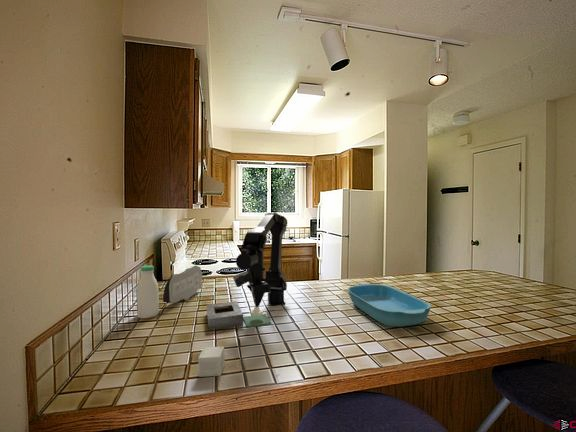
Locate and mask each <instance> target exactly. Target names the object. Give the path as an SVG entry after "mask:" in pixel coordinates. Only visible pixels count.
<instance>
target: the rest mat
mask: <svg viewBox="0 0 576 432" xmlns="http://www.w3.org/2000/svg"><path fill="white" fill-rule="evenodd" d="M243 323H244V324H245V326H246V328H253V327H258V326H267V325H271V324H272V321H271V320H270V318H269V317H268V316H267V314H266V313H263V314H262V315H259V316H253V315H248V316H243Z"/></svg>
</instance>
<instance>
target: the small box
mask: <svg viewBox="0 0 576 432" xmlns="http://www.w3.org/2000/svg"><path fill="white" fill-rule="evenodd" d="M197 360H198V378H200V377H201V378H203V377H221V375H222V373H223V370H224V367H225V365H226V361H225V360H226V359H225V346H208V347H207V346H206V347H203V348H202V349H201V352H200V354H199V356H198V359H197Z"/></svg>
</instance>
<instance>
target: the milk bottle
mask: <svg viewBox="0 0 576 432" xmlns="http://www.w3.org/2000/svg"><path fill="white" fill-rule="evenodd" d="M154 270H155V266H154V265H149V264H148V265H143V266H141V267H140V272H141V275H140V279H139V281H138V283H137V288H136V303H137V305H136V307H137V309H136V310H137V312H136V313H137V318H139V319H149V318H154V317H155V316H158V315H159V312H160V306H159V305H160V304H159V303H160V301H159V284H158V281H157V279H156V277H155V274H154Z"/></svg>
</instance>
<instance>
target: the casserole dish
mask: <svg viewBox="0 0 576 432" xmlns="http://www.w3.org/2000/svg"><path fill="white" fill-rule="evenodd" d="M347 290H348V294H349V298H350V301H351V302H352V303H353V305H355V307H357V308H359V310H361V311H362V312H364V313H365V314H367V315H368V316H369V317H371V318H372V319H374V320H375V321H377V322H379V324H381V325H383V326H387V327H393V328H394V327H395V328H396V327H398V328H399V327H407V326H413V325H419V324H422V323H424V322H425V320H426V319H427V318H428V315H429V312H430V310H431V308H432V305H431V304H429V303H428V302H427V301H425V300H423V299H420V298H418V297H416V296H414V295H412V294H409V293H406V292H404V291H402V290H400V289H398V288H395V287H393V286H390V285H386V284H370V283H361V284H356V285H351V286H349V287H348V288H347Z"/></svg>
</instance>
